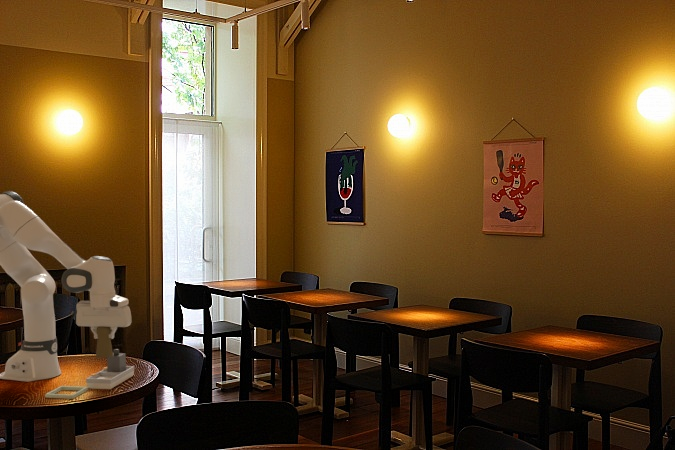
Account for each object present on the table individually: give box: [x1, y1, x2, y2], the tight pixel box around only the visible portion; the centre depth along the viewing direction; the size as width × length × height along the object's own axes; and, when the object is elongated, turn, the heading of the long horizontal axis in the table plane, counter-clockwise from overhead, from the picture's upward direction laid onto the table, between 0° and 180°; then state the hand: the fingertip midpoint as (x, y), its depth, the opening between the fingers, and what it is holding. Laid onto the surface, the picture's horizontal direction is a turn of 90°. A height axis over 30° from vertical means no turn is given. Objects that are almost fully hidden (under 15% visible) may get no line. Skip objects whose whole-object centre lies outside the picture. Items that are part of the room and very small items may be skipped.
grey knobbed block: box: [106, 348, 127, 372], centre depth 272 cm, size 5×5×9 cm
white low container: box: [85, 365, 135, 390], centre depth 268 cm, size 10×19×4 cm, turn 171°
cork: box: [95, 326, 114, 359], centre depth 262 cm, size 6×6×11 cm
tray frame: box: [44, 385, 89, 400], centre depth 252 cm, size 10×10×1 cm
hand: (104, 338), depth 262 cm, fingers closed on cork, 4 cm apart
